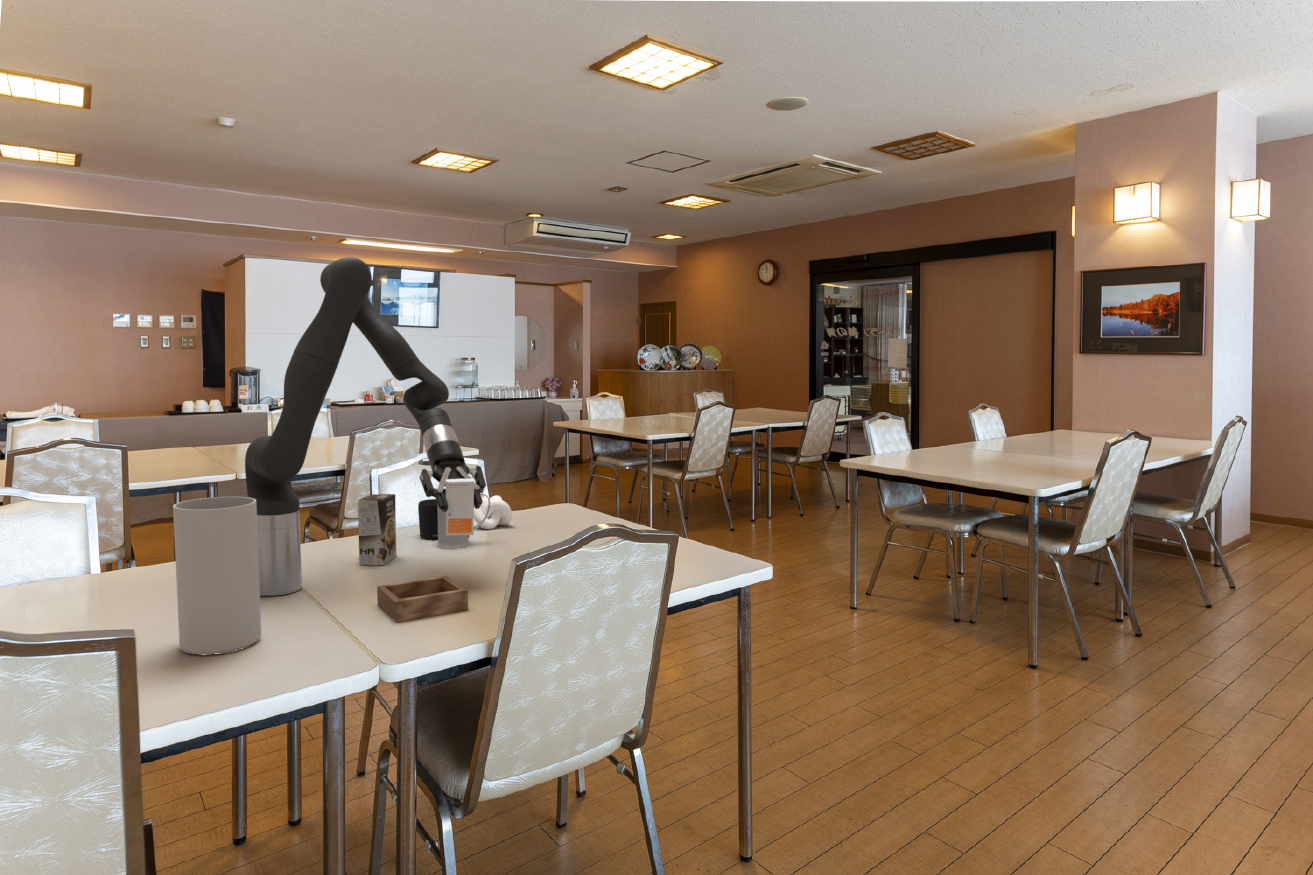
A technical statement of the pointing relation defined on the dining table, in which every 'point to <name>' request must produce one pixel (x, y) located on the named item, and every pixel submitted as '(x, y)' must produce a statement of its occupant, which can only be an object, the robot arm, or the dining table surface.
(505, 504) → the white knot sculpture
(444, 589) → the tray
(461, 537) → the glass holder
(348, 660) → the dining table surface
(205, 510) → the cylinder vase
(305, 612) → the dining table surface
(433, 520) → the black smart speaker
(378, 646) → the dining table surface
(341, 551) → the dining table surface
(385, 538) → the coffee box
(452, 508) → the skincare box
